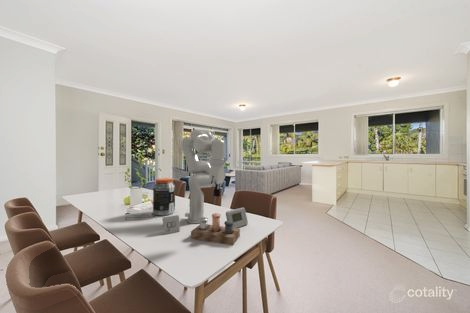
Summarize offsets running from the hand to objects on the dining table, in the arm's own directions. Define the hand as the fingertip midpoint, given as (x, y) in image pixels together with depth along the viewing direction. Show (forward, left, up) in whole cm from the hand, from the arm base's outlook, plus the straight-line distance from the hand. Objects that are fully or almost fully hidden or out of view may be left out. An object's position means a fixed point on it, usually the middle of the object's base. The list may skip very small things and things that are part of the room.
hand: (216, 196), depth 106 cm
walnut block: (0, 0, -23) cm, 23 cm away
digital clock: (+6, +19, -23) cm, 31 cm away
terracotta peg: (0, 0, -19) cm, 19 cm away
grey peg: (-8, 0, -23) cm, 24 cm away
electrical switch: (-28, -2, -23) cm, 36 cm away
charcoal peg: (+7, 0, -23) cm, 24 cm away
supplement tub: (-54, +26, -23) cm, 64 cm away
